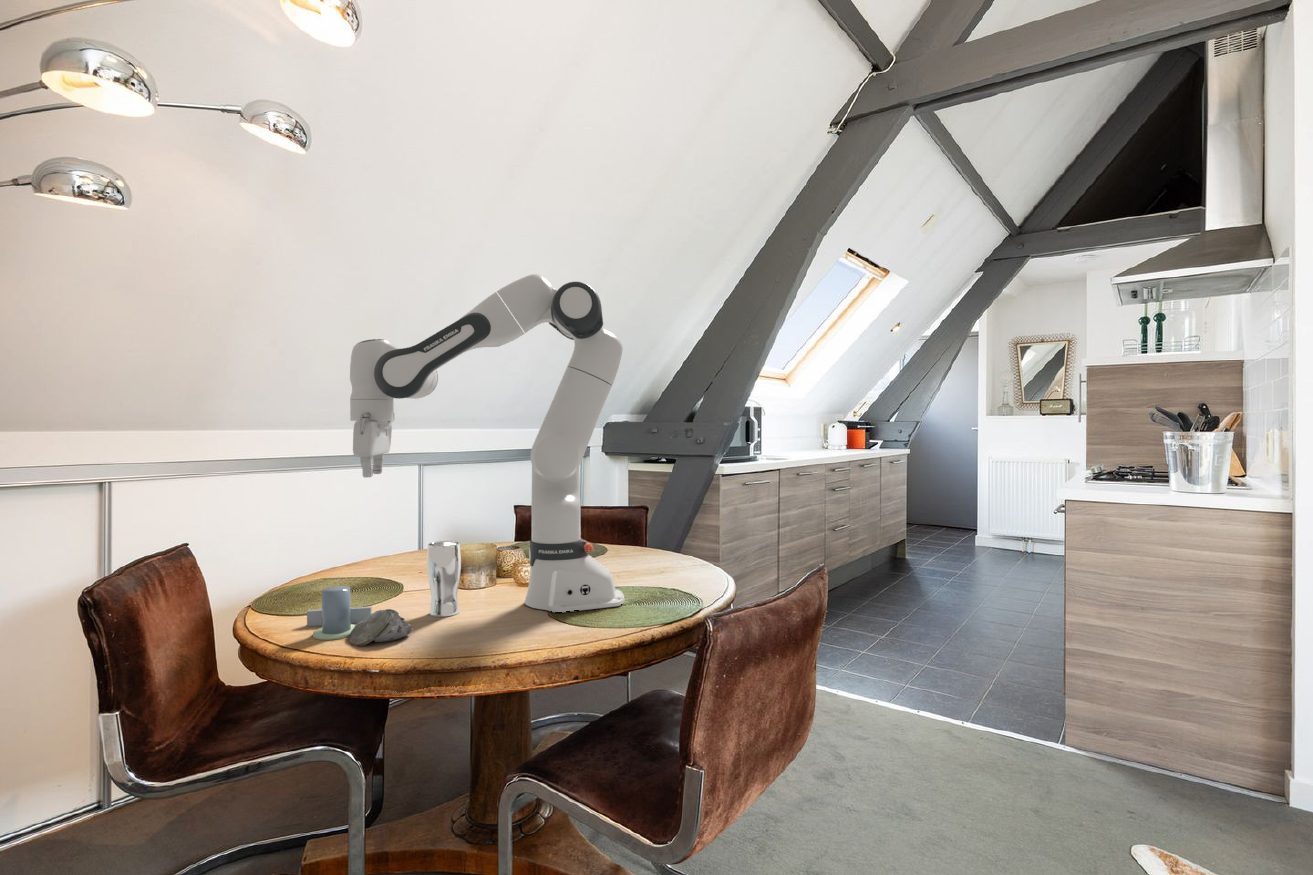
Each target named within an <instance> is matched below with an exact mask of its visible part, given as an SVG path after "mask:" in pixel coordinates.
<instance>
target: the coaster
mask: <svg viewBox="0 0 1313 875" xmlns="http://www.w3.org/2000/svg"><path fill="white" fill-rule="evenodd" d="M355 625H356V624H351V629H350V630H349V631H347V632H344V633H339V634H324V633H322V627H320V628H319V627H318V628H317V629H315V630H314V631H312V632H313V633H312V638H313V639H315V640H319V641H334V640H341V639H346V638H349V637H350V633H351V631H352V629H353V628H354V627H355Z"/></svg>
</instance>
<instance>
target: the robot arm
mask: <svg viewBox="0 0 1313 875" xmlns="http://www.w3.org/2000/svg"><path fill="white" fill-rule="evenodd" d="M544 323H548V324H549V325H550V326H551V327H552V328H554V329H555V330H556V331H557V332H559V334H561V335H562V336H564V337H565V338H567V339H569V340H570V341H573V343H574V349H573V352H572V354H571V358H570V360H569V362H568V364H567V366H566V369H565V370H564V372H563V376H562V377H561V378H562V379H561V380H560V382H559V385H558V386H557V387H558V388H557V389H556V392H555V394H554V397H553V399H552V401H551V403H550V405H549V407H548V410H547V412H546V415H545V417H544V420H543V422H542V424H541V426H540V428H539V430H538V433H537V435H536V437H535V438H534V439H535V440H534V442H533V444H532V447H531V451H530V462H531V502H530V503H531V505H530V506H531V539H530V540H529V546H528V558H529V559H528V560H529V562H528V563H529V565H530V572H529V579H528V580H529V582H528V587H527V592H526V596H525V600H524V604H525V606H527V607H530V608H531V609H538V610H545V611H548V612H551V611H552V612H551V613H555V612H562V613H567V612H566V611H570V612H575V611H574V610H579V611H586V610H587V611H588V610H594V609H604V608H613V607H620V606H621V604H622V605H623V604H624V603H625V595H624V593H623V592H622V591H621V590H619V589H618V588H616V587H615V581H614V578H613V574H612V573H611V572H610V570H609V569H608V568H607V567H606V566H605V565H603V564H602V563H600V562H599V561H598V560H597V559H595V558H594V557H593V556H591V555H590V554H591V553H592V552H593V550H594V546H593V544H592V543H590V542H589V541H587V540H585V539H583V538H582V537H581V535H582V532H581V521H582V520H581V516H582V514H581V510H582V508H581V506H582V505H581V485H580V484H581V482H580V465H581V463H582V460H583V458H584V455H585V453H586V451H587V447H588V446H589V444H590V440H591V437H592V436H593V433H594V430H595V427H596V424H597V422H598V420H599V417H600V415H601V413H602V410H603V407H604V405H605V404H606V400H607V398H608V396H609V394H610V391H611V389H612V387H613V384H614V382H615V380H616V377H617V373H618V371H619V367H620V364H621V359H622V355H623V350H624V349H623V344H622V342H621V340H620V339H619V338H618V336H616V335H615V334H614V333H613V332H611V331H609V330H607V329H605V328H604V327H603V326H604V317H603V311H602V301H601V299H600V297H599V295H598V293H597V291H596V290H595V289H594V288H593V287H592V286H591V285H589V284H588V283H585V282H582V281H569V282H567V283H564V284H563V285H561V286H560V287H559V288H558V289H556V288H554V286H553V285H552V284H551V282H550V281H548V279H546V278H545V277H544V276H542V275H539V274H535V273H534V274H533V273H532V274H529V275H526V276H524V277H521V278H518V279H517V280H514V281H512V282H510V283H508V284H507V285H505V286H503V287H502V288H500V289H499V290H496V291H495V292H493V293H492V294H491V295H489V296H488V297H486V299H484V300H482V301H481V302H479V303H478V304H477V305H475V306H474V307H473V308H472V309H471V310H469V311H468V312H467V313H465V314H464V315H463V316H462V317H460V318H459V319H457V320H456V321H454V322H453V323H451V324H449V325H447V326H446V327H444V328H442V329H441V330H439V331H437V332H436V333H434V334H432V335H430V336H429V337H427V338H426V339H424V340H422V341H420V342H419V343H417V344H415V345H412V346H408V347H405V348H399V347H397V346H396V345H394V344H392V343H391V342H390V341H389V340H388V339H384V338H381V339H380V338H378V339H376V338H374V339H367V340H362V341H358V342H357V343H356V344H355V345H354V346H353V347H352V351H351V355H350V366H349V380H350V384H351V394H350V398H349V399H350V400H349V408H350V409H349V411H350V414H349V415H350V421H351V422H354V424H353V432H352V437H353V438H352V453H353V456H354V457H356V458H357V457H358V458H360V465H361V469H362V477H363V478H372V477H373V476H374V475H381V474H382V473H383V464H384V460H385V459H384V458H385V455H384V454H388V453H389V452H390V449H391V444H392V431H393V430H392V429H393V423H392V422H394V421H395V412H394V411H395V410H394V399H416V400H417V399H421V398H425V397H427V396H429V395H431V394H432V393H433V392H434V391H435V389H436V387H437V385H438V382H439V381H438V380H439V375H438V371H437V369H439V368H441V367H443V366H444V365H446V364H448V363H449V362H451V361H452V360H454V359H456V358H457V357H459V356H460V355H462V354H465V353H466V352H468V351H469V352H470V351H472V350H475V349H476V350H477V349H482V348H497V347H501V346H504V345H506V344H509V343H511V342H514V341H515V340H517V339H518V338H520V337H521V336H523V335H525V334H526V333H528V332H529V331H531V330H532V329H534V328H535V327H537V326H538V325H539V326H540V325H541V324H544Z"/></svg>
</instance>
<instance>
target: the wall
mask: <svg viewBox="0 0 1313 875" xmlns="http://www.w3.org/2000/svg"><path fill="white" fill-rule="evenodd" d="M372 610H373V608H372V606H359V607H358V606H357V607H351V624H353V625H355V624H357V623H359V622H360V621H362V620H363V619H365V618H367V617H370V615H371V614H373V612H372ZM306 626H307V627H317V626H322V608H321V609H320V608H319V609H308V610H307V611H306Z"/></svg>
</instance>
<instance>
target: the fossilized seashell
mask: <svg viewBox="0 0 1313 875" xmlns="http://www.w3.org/2000/svg"><path fill="white" fill-rule="evenodd" d="M405 620H406V619H405V617H402V616H400V615H399V612H398V611H397V610H395V609H391V608H390V609H389V608H388V609H383V610H382V609H379V610H376V611H375V612H372V614H371V615H370V617H367V618H365V619H363V620H362V621H360V622H359V623H355V624H354V625H355V627H354V628H353V629H352V631H351V633H350V637H348V638H349V643H350V644H351V645H354V646H355V645H356V647H358V646H359V647H363V646H365V645H367V644H370V643H371V642H373V641H374V642H375V643H385V642H392V641H393V642H394V641H395V640H399V639H402V638H403V637H406V636H408V635H410V634H411V633H412V632H413V630H414V629H413V627H412V624H410V623H409V622H407V621H405Z"/></svg>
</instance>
